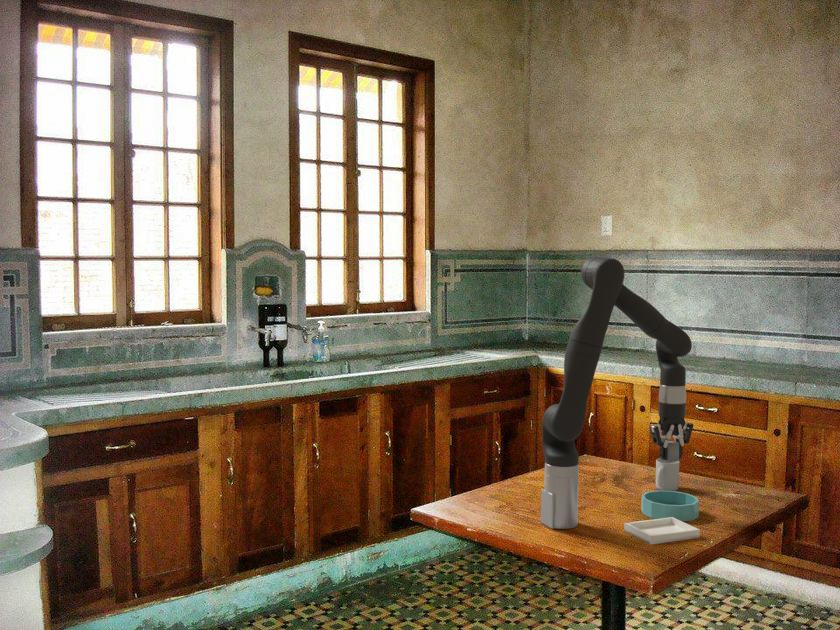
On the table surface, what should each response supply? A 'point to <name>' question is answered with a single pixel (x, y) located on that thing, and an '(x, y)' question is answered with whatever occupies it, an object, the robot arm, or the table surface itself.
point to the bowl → (670, 505)
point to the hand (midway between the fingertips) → (670, 458)
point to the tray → (661, 530)
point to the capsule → (672, 451)
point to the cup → (667, 475)
